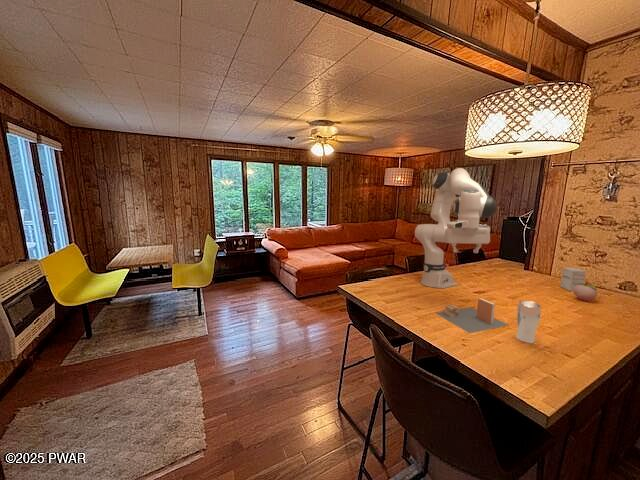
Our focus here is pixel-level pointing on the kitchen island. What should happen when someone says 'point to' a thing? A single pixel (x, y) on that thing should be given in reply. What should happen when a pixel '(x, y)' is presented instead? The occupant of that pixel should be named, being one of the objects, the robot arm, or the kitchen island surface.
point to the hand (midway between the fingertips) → (465, 252)
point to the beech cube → (451, 310)
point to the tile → (485, 310)
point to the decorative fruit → (585, 291)
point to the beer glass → (527, 321)
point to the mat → (471, 320)
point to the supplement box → (572, 278)
